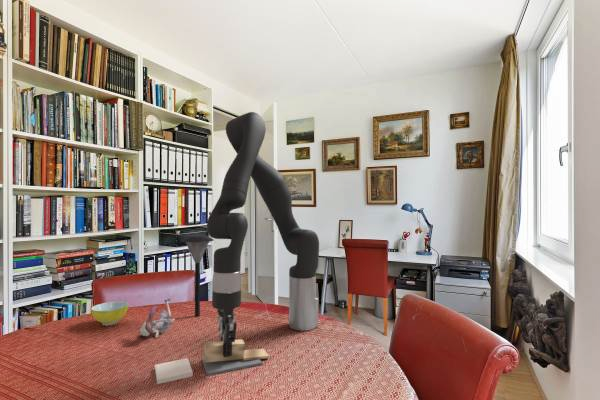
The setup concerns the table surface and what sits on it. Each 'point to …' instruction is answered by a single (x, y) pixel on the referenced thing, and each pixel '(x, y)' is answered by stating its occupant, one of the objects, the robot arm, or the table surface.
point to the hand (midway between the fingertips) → (226, 353)
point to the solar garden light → (197, 261)
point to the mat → (228, 365)
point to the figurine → (157, 322)
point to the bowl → (109, 312)
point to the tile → (173, 371)
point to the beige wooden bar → (215, 352)
